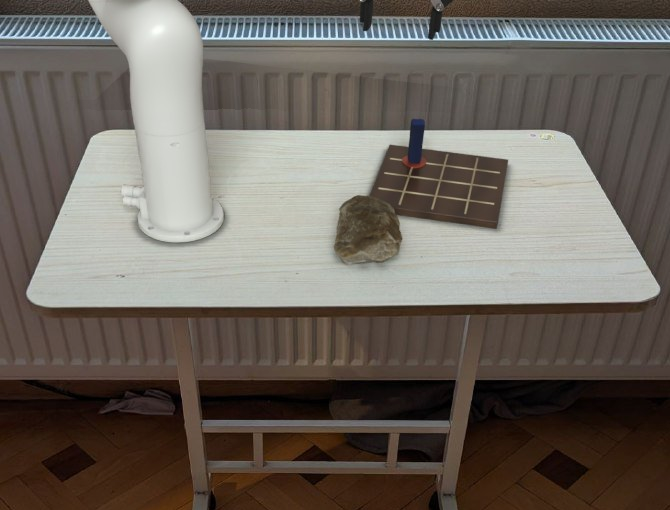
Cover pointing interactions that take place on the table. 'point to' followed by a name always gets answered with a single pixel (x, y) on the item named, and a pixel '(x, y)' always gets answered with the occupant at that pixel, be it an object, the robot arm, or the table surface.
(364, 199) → the stone
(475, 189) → the board
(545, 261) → the table surface
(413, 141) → the eraser
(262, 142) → the table surface
